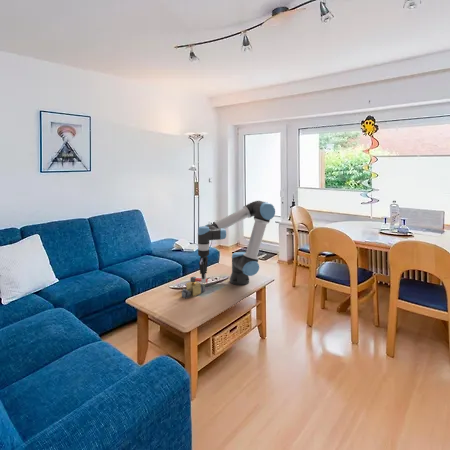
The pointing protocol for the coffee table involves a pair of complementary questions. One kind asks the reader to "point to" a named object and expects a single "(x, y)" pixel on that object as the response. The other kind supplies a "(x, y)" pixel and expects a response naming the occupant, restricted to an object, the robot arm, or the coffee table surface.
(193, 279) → the lever
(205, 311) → the coffee table surface
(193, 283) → the valve
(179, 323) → the coffee table surface
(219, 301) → the coffee table surface
